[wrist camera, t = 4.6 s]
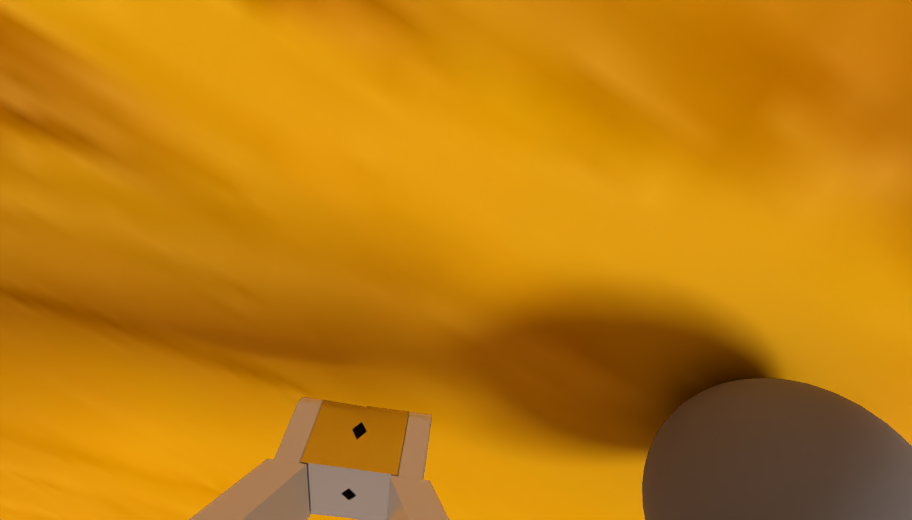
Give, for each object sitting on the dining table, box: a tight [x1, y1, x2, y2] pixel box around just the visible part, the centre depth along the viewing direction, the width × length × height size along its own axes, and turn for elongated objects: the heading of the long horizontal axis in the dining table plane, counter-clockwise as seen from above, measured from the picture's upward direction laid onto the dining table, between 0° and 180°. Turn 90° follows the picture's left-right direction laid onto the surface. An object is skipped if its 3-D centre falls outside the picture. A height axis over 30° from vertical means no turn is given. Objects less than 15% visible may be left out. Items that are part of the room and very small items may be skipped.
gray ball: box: [642, 378, 912, 520], centre depth 11 cm, size 6×6×6 cm
